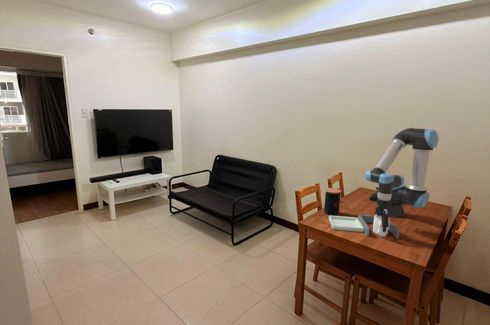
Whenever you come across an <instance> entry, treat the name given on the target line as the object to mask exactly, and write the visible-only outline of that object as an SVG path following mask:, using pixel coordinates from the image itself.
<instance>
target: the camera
mask: <svg viewBox="0 0 490 325" xmlns="http://www.w3.org/2000/svg"><path fill="white" fill-rule="evenodd" d="M378 187H379V184H378V185H377V186H376V187H375V190H376V192H372V194H371V195H370V197H369V201H370V200H371V202H374V203H375V202H377V198H378V197H377V193H378Z"/></svg>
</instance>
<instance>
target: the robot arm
mask: <svg viewBox="0 0 490 325" xmlns="http://www.w3.org/2000/svg"><path fill="white" fill-rule="evenodd" d="M438 143H439V135H438V133H437V131H436V130H434V129H431V128H415V127H410V128H409V127H408V128H405V129H403V130H401V131H399V132H398V133H396V134H395V135H394V136H393V137H392V139H391V141H390V144H389V146H388V147H387V149H386V150H385V152H384V153H383V155H382V157H381V158H380V159H379V161H377V163H376V165H375V167H374V168H373V169H368V170H367V171H366V173H365V180H366V181H368V182H371V183H376V184H378V185H379V187H378V193H377V192H376V193H377V197H378V198H377V202H376V208H375V210H374V215H376V214H377V215H378V216H381V217H382V226H381V233H380V235H379V236H380V237H386V236H387V235H386V228H387V227H389V218H390V217H392V218H403V217H404V216H405V208H404V204H405V205H408V206H411V207H414V208H418V209H423V208H424V207H425V206H427V204H428V202H429V199H430V193H429V192H428V191H427V188H426V186H425V184H426V180H427V173H428V167H429V158H430V154H431V152H432V151H433V150H434V148H437V146H438ZM406 146H412V150H413V159H412V166H411V174H410V180H409V184H408V185H407V186H406V184H405V178H404V177H403V176H402V175H400V174H391V173H387V171H388V170H389V168H390V167H392V164H393V162H394V161H395V160H396V158H397V157H398V155H399V154H400V152H401V151H402V150H403V149H404V148H406ZM374 215H373V216H374Z"/></svg>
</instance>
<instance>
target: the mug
mask: <svg viewBox="0 0 490 325" xmlns="http://www.w3.org/2000/svg"><path fill="white" fill-rule="evenodd" d="M373 216H374V223H372V224H373V225H372V232H373V233H374V234H376V235H379V236H380V233H381V226H382V217H381V216H378V215H377V214H376V215H373ZM390 219H391V218H390V217H389V220H390ZM390 221H391V220H390ZM388 228H389V227H387V228H386V235H385V236H387V235H388V234H389V229H388Z"/></svg>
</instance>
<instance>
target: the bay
mask: <svg viewBox="0 0 490 325" xmlns="http://www.w3.org/2000/svg"><path fill="white" fill-rule="evenodd" d="M357 218H358V220H359V221H360V223H361V224H362V226H363V227H364V232H363V233H364V234H365V236H366V237H369V236H370V231H371V230H370V229H371V228H370V227H369V225H368V224H373V223H374V215H371V214H370V215H369V214H368V215H367V214H358V215H357ZM388 231H390V233H391V234H392V235H393V236H394V238H395V239H398V240H399V237H400V230H399V229H398V228H397V227H396V226H395V225H394V224H393V222H392V221H391V220H389V228H388Z"/></svg>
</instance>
